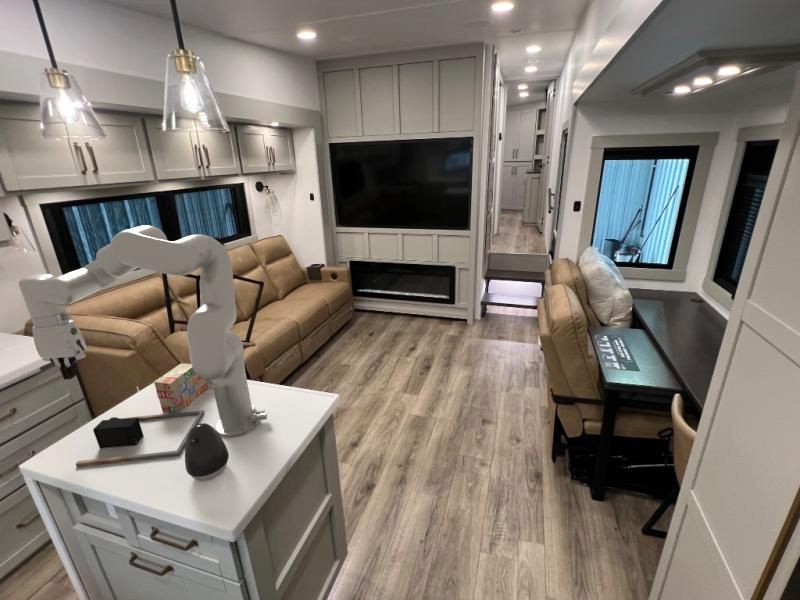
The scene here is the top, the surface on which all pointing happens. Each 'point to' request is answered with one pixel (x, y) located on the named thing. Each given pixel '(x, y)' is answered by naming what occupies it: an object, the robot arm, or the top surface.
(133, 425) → the digital camera
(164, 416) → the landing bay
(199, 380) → the stack of blocks
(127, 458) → the shelf lane
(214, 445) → the black rounded mouse
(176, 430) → the top surface
